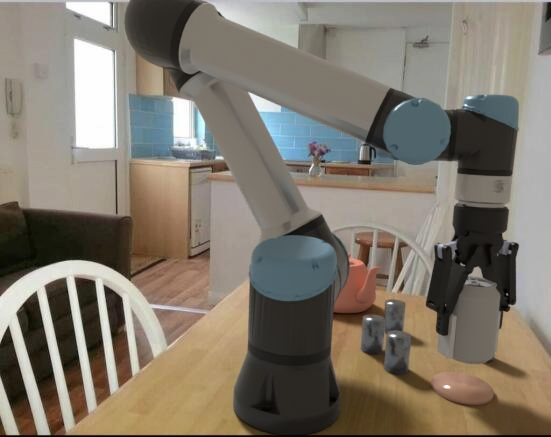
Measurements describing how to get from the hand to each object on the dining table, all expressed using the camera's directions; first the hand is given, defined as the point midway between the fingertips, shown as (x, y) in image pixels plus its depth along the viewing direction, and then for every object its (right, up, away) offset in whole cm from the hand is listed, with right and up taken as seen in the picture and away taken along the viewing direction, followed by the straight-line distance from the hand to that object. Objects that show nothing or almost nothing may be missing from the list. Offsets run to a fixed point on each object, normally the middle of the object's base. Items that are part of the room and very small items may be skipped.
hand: (466, 351), depth 77 cm
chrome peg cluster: (-3, -4, +17) cm, 18 cm away
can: (0, -1, 0) cm, 1 cm away
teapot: (-14, 0, +38) cm, 41 cm away
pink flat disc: (0, -6, +1) cm, 6 cm away
